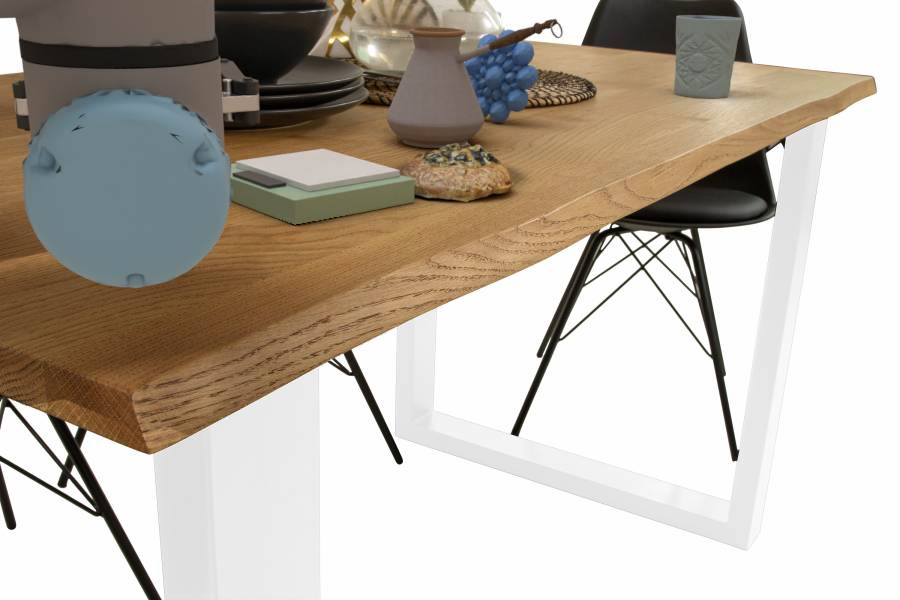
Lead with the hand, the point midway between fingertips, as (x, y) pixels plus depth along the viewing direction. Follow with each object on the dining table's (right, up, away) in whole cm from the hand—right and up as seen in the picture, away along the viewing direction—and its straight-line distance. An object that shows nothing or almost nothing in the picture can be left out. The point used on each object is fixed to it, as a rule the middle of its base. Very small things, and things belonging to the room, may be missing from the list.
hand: (145, 65), depth 71 cm
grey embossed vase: (+62, +16, +90) cm, 110 cm away
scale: (+9, -7, +21) cm, 24 cm away
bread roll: (+22, -6, +26) cm, 34 cm away
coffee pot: (+24, +1, +45) cm, 51 cm away
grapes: (+28, +7, +61) cm, 68 cm away
